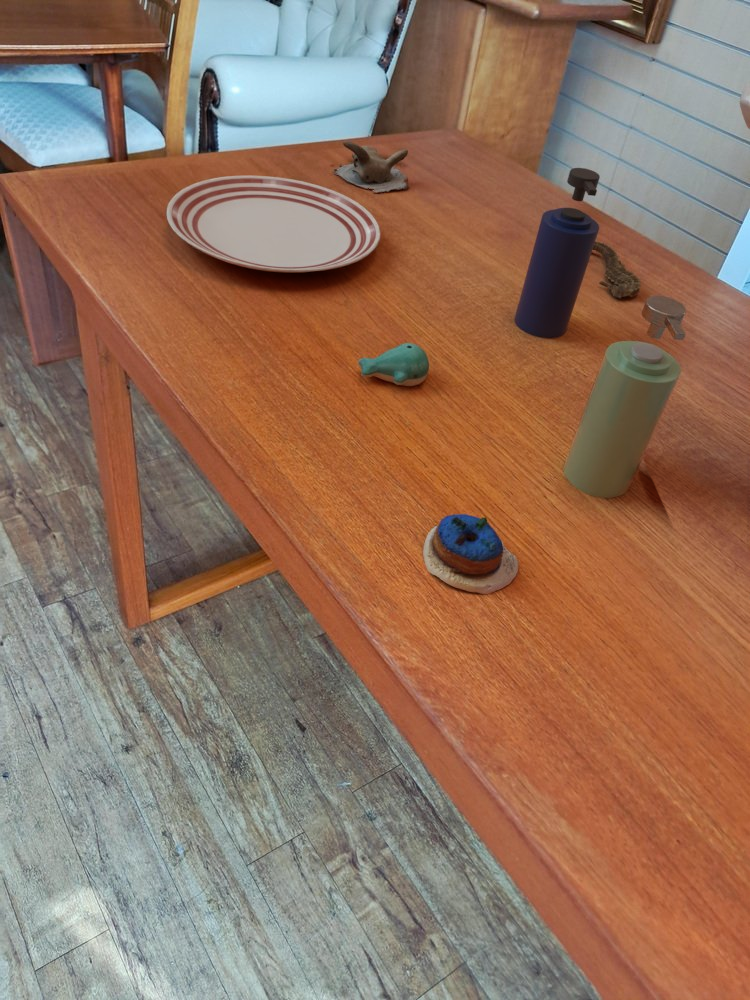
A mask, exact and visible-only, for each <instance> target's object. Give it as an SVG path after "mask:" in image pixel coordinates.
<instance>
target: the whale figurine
mask: <svg viewBox="0 0 750 1000" xmlns="http://www.w3.org/2000/svg"><path fill="white" fill-rule="evenodd" d="M357 364H358V366H359V367H360V369H361V371H360V374H361V376H362V377H364V378H366V379H367V378H371V377H376V378H378V379H380V380H382V381H385V382H388V383H392V384H395V385H397V386H404V387H414V386H418V385H420V384H421V383H423V382H424V381H425V380H426V379H427V376H428V373H429V369H430V361H429V358H428V355H427V353H426V352H425V350H424V349H423V348H422V347H420V346H419V345H417V344H415V343H412V342H405V343H402V344H401V343H400V344H399V345H398V346H397V345H396V346H395V347H393V348H391V349H388V350H386V351H384V352H382V353H381V354H380V355H378V356H376V357H375V358H371V357H362V358H360V359H358V362H357Z"/></svg>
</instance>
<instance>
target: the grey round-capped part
mask: <svg viewBox="0 0 750 1000" xmlns="http://www.w3.org/2000/svg"><path fill="white" fill-rule="evenodd" d="M686 312H687V309H686V306H685V305H684V304H683V303H681V302H680V301H679V300H676V299H674V298H673V297H672V298H671V297H668V296H664V295H651V296H649V297H647V298H646V300H645V303H644V305H643V308H642V310H641V316H642V318H643V319H644V320H645V321H646V322H648V323H649V325H648V326H649V327H648V329H647V331H646V335H647V337H649V338H651V339H654V340H660V339H661V338H662V336H663V334H664V332H665V329H667V331H668V332H669V334H670V336H671V337H672V339H673V340H675V341H676V340H677V341H684V340H685V338H686V336H687V335H686V332H685V330H684V329H683V326H682V325H681V324H682V322H683V320H684V318H685V315H686Z"/></svg>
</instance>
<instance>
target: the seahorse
mask: <svg viewBox="0 0 750 1000" xmlns="http://www.w3.org/2000/svg"><path fill="white" fill-rule="evenodd" d="M592 251H594V252H597V253H598V254H600V255H602V257H603V259H604V261H605V264H606V270H605V274H604V276H603V277H606V278H607V280H609V281H610V282H611V283H612V284H611V283H608V282H606V281H602V280H601V281H599V282H598V284H599V285H601V286H603V287H604V288H607V292H608V294H612V296H613V299H620V300H621V299H622V298H625V297H630V298H633V297H635V296H637V294H639V292H640V290H641V289H640V287H641V286H642V283H641V280H640V278H639V277H638V276H637V275H636V274H634V273H632V272H631V271H629V270H627V269H626V266H625V264H622V261H621V260H619V255H618V253H617V251H616V250H615V249H614V248H613V247H611V246H610V245H608V244H606V243H604V242H600V241H595V243H594V246H593V249H592Z"/></svg>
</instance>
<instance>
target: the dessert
mask: <svg viewBox="0 0 750 1000" xmlns="http://www.w3.org/2000/svg"><path fill="white" fill-rule="evenodd" d="M511 548H512V546H511V545H510V546H509V549H511ZM422 556H423V562H424V565H425V567H426V570H427V572H429V574H431V575H433V576H436V577H437V578H438V579H440V580H441V581H443V582H444V583H446V584H448V585H449V586H451V587H454V588H456V589H459V590H463V591H466V592H470V593H477V594H481V595H490V594H492V593H495V592H497V591H499V590H502V589H503V588H505V587H507V586H509V584H511V582H513V580H514V579H515V578H516V576H517V573H518V571H519V561H518V558H517V556H516V555H515V554H514V553H512V552H510V551H509V550H508V548H507V547H506V546H505V544H504V542H503V540H502V539H501V538H500V536H499V535H498V532H496V531H495V529H494V528H493V527H492V526H491V525H490V523H489V522H488V519H487V517H485V516H483V517H481V518H480V517H477V516H474V515H469V514H467V513H459V514H455V513H453V514H449V515H446V516H444V517H441V518H440V521H439V524H435V526H434V527H433V528H431V530H429V532H428V534H427V535H426V537H425V541H424V543H423V549H422Z"/></svg>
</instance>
